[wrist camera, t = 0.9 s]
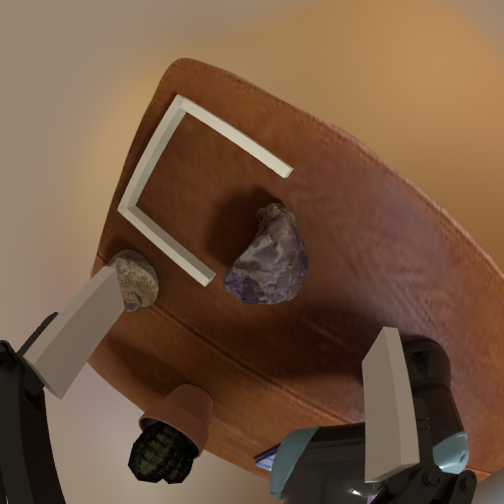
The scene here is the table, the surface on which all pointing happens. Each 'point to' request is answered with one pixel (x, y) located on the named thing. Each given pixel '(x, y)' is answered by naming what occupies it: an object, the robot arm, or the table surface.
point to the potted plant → (172, 435)
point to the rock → (270, 260)
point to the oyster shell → (135, 279)
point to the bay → (149, 162)
